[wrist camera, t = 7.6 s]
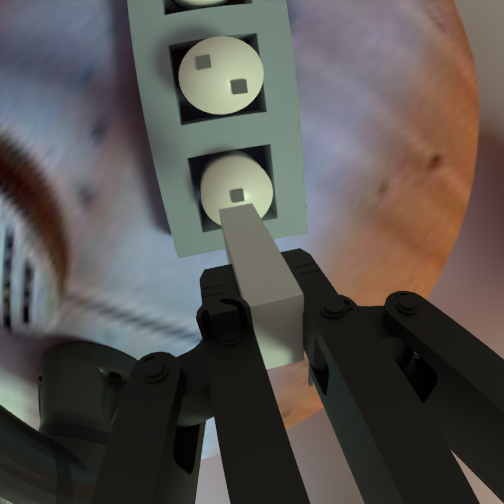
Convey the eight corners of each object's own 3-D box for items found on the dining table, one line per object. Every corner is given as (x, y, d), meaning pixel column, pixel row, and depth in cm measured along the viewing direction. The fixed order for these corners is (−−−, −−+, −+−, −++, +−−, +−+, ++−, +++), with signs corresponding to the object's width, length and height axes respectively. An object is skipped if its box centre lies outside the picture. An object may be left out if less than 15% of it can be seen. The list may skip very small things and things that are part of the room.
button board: (179, 241, 22) (178, 258, 20) (130, -43, 11) (123, -57, 8) (296, 218, 23) (307, 232, 21) (263, -60, 11) (271, -74, 9)
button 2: (187, 116, 16) (185, 121, 14) (177, 52, 14) (173, 43, 11) (256, 105, 17) (268, 108, 14) (247, 42, 15) (259, 32, 12)
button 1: (206, 213, 21) (208, 235, 18) (194, 156, 19) (195, 168, 16) (264, 202, 21) (276, 222, 18) (258, 145, 19) (269, 155, 16)
